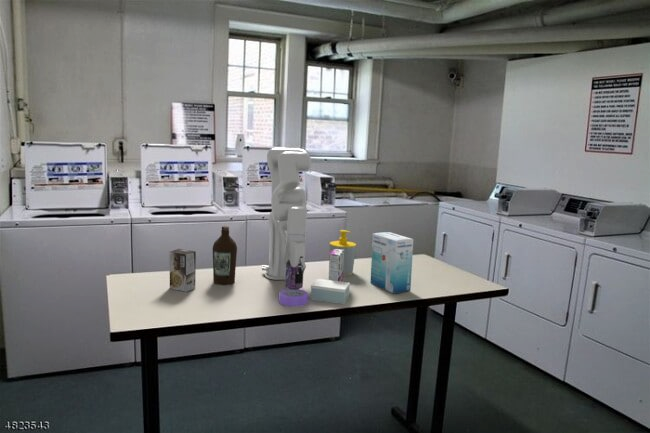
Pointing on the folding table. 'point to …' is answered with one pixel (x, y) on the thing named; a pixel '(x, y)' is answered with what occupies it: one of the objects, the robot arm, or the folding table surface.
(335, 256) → the candy bar box
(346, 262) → the soap bottle
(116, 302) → the folding table surface
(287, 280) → the beverage can
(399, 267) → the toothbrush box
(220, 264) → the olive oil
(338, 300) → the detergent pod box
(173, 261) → the coffee box
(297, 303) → the masking tape
